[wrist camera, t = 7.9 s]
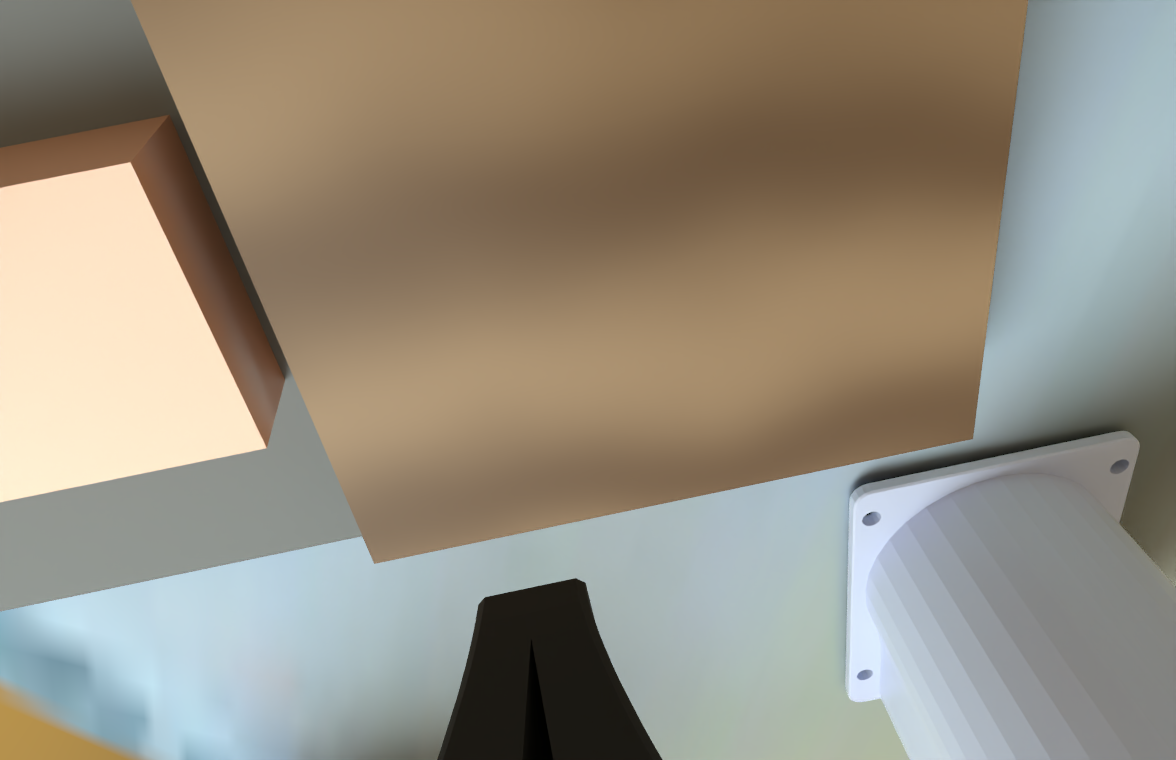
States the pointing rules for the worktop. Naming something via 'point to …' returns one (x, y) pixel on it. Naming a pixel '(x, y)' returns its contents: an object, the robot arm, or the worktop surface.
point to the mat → (174, 495)
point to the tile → (120, 316)
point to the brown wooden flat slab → (605, 236)
